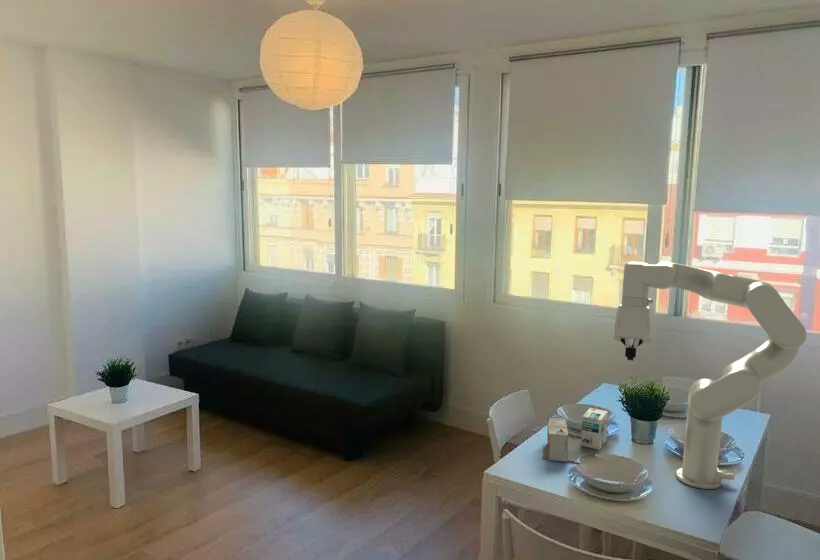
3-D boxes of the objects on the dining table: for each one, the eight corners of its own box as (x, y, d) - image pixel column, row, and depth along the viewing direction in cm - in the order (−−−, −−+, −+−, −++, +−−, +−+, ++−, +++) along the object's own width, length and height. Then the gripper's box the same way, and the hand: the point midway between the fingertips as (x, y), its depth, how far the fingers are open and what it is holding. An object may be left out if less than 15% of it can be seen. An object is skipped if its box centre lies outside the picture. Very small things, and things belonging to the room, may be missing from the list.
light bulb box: (599, 450, 207) (602, 420, 205) (580, 446, 210) (582, 416, 208) (606, 440, 216) (608, 410, 214) (587, 435, 219) (589, 407, 218)
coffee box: (547, 460, 196) (547, 442, 212) (568, 461, 195) (565, 443, 211) (548, 433, 195) (547, 416, 211) (568, 434, 194) (566, 417, 210)
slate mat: (579, 452, 204) (579, 450, 204) (580, 463, 196) (580, 462, 196) (543, 448, 207) (543, 446, 207) (542, 459, 199) (542, 457, 199)
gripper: (658, 301, 190) (653, 358, 192) (608, 298, 193) (604, 354, 196) (662, 305, 183) (657, 364, 185) (610, 302, 186) (605, 360, 189)
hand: (630, 359), depth 191 cm, fingers closed
